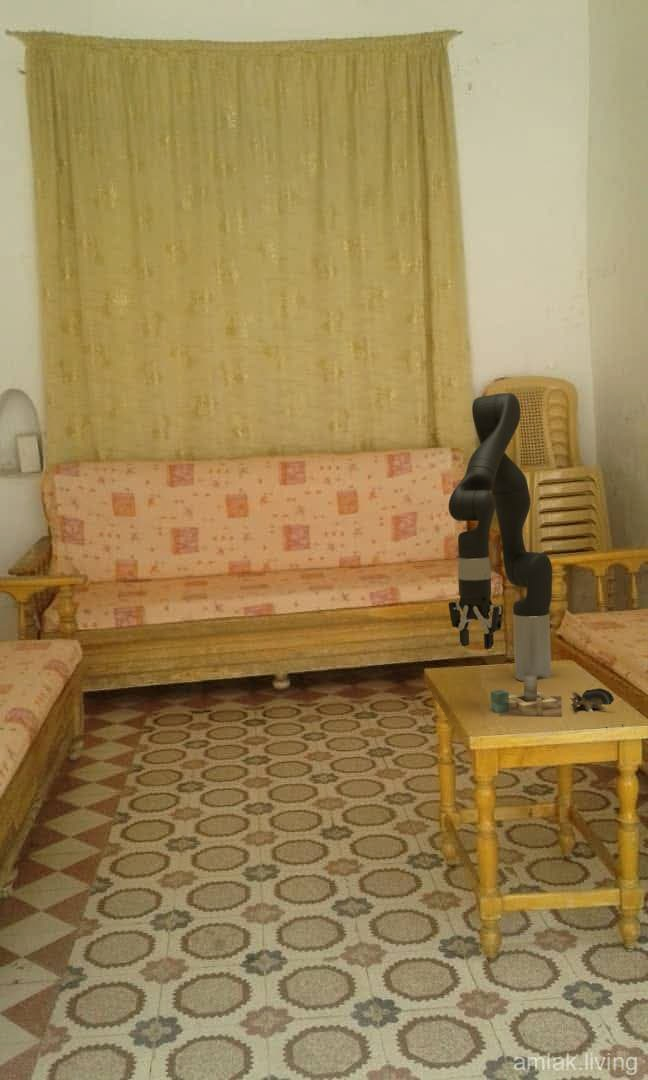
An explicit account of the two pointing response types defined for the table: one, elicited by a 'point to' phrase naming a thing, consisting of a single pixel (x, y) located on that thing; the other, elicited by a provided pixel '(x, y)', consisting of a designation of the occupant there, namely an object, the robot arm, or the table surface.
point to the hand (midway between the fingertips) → (476, 646)
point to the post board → (534, 714)
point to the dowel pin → (539, 706)
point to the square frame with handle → (519, 702)
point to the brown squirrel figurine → (592, 699)
